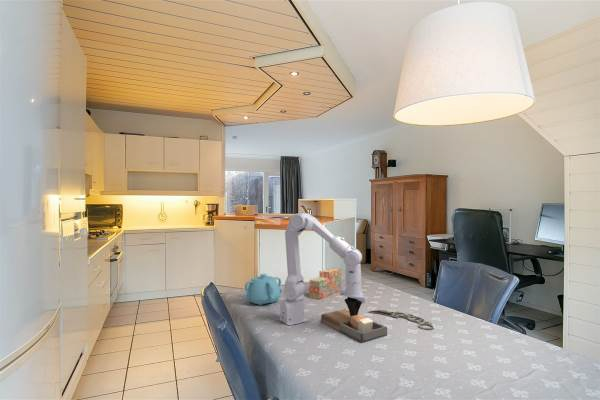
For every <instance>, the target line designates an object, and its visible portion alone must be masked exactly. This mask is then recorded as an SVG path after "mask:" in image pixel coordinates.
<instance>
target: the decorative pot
mask: <svg viewBox="0 0 600 400" xmlns="http://www.w3.org/2000/svg"><path fill="white" fill-rule="evenodd" d="M277 280H278V281H277ZM281 285H282V280H281V278H280V277H279V276H278V277H277V276H275V277H273V276H271V275H270V276H269V275H268V274H266V273H260V275H259V276H255V277H252V278H251V280H247V282H246V283H245V284H244V288H245V289H244V290H245V291H246V293H245V294H244V296H243V297H244V299H245V300H249V302H250V303H253V304H255V305H256V304H257V306H263V305H264V304H275V303H276V302H277V301H278V300H279V299H280V297H281V294H282V293H283V290H282V288H281Z"/></svg>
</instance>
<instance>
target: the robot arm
mask: <svg viewBox="0 0 600 400" xmlns="http://www.w3.org/2000/svg"><path fill="white" fill-rule="evenodd" d="M305 230H307V231H314V232H315V233H316V234H317V235H318V236H320V237H321V238H323V239H324V240H325V241H326V242H327V243H328V245H329V248H330V249H331V250H332V251H333V252H334V253H335V254H336V255H338V256H339V257H340V258H341V259H343V263H344V264H345V289H343V288H341V290H340V292H339V296H345V297H346V298H345V299H344V302H345V304H346V305H347V306H346V307H347V308H348V309H347V310H348V311H349V313H350V316H355V315H359V311H360V308H361V306H362V304H369V301H370V299H369V297H368V296H366V295H365V294H364V293H363V292H362V270H361V267H362V265H361V262H362V260H363V254H362V253H361V250H360V249H357V248H355V247H354V246H353V245H352V246H351V245H350V244H349V243H348V242H347V241H345V239H346V238H344V237H343V236H342V237H340V236H339V235H337V236H335V235H334V234H333V233H332V232H330V231H329V230H328V228H326V227H325V226H324V225H323V224H322V223H321V222H320V221H319V220H318V219H317V218H316V217H315V216H313V215H312V214H310V213H309V212H302V213H300V212H299V213H294V214H293V215H292V216H291V217H290V218H289V219H288V224H287V227H286V229H285V232H284V237H285V239H284V240H285V251H286V252H285V253H286V255H285V256H286V268H287V277H286V279H285V282H284V288H283V295H284V298H285V299H284V300H281V302H280V305H279V306H280V307H279V313H280V314H279V316H280V317H279V320H278V321H280V322H282V323H284V324H286V326H293V325H298V324H301V323H306V322H309V319H308V318H306V317H305V293H306V292H307V285H306V283H305V280H304V279H305V278H304V276H303V275H302V272H301V257H300V245H299V244H300V241H299V236H300V235H301V234H302V233H303V232H304V231H305Z"/></svg>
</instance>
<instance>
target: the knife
mask: <svg viewBox="0 0 600 400" xmlns="http://www.w3.org/2000/svg"><path fill="white" fill-rule="evenodd" d="M369 313H370V314H371V313H372V314H374V313H375V314H380V315H385V316H389V317H391V318H395V319H399V318H403V319H405V320H407V321H409V322H411V323H415V324H417V328H420V329H422V330H427V331H428V330H429V331H432V330H434V329H435V327H434V326H433V323H432V322H430V321H429V320H426V319H424V318H421V317H418V316H416V315H414V314H413V313H407V312H401V311H388V310H386V309H385V310H379V309H377V310H370V311H369ZM423 326H427V327H423Z"/></svg>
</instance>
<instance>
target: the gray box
mask: <svg viewBox="0 0 600 400" xmlns="http://www.w3.org/2000/svg"><path fill="white" fill-rule="evenodd" d="M372 321H373V326H372V330H371V331H367V332H363V333H361V332H359V331H358V329H357V328H356V327H355V326H353V327H349V326H347V325H345V324H343V323H340V331H339V332H340V333H342V334H344V335H345V336H347V337H349V338H352V339H353V340H355V341H357V342H360V343H361V344H363V343H366V342H370V341H373V340H376V339H379V338H380V339H381V338H384V337H387V336H388V327H387V326H385V325H383V324H381V323H378V322H376V321H374V320H372Z"/></svg>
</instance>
